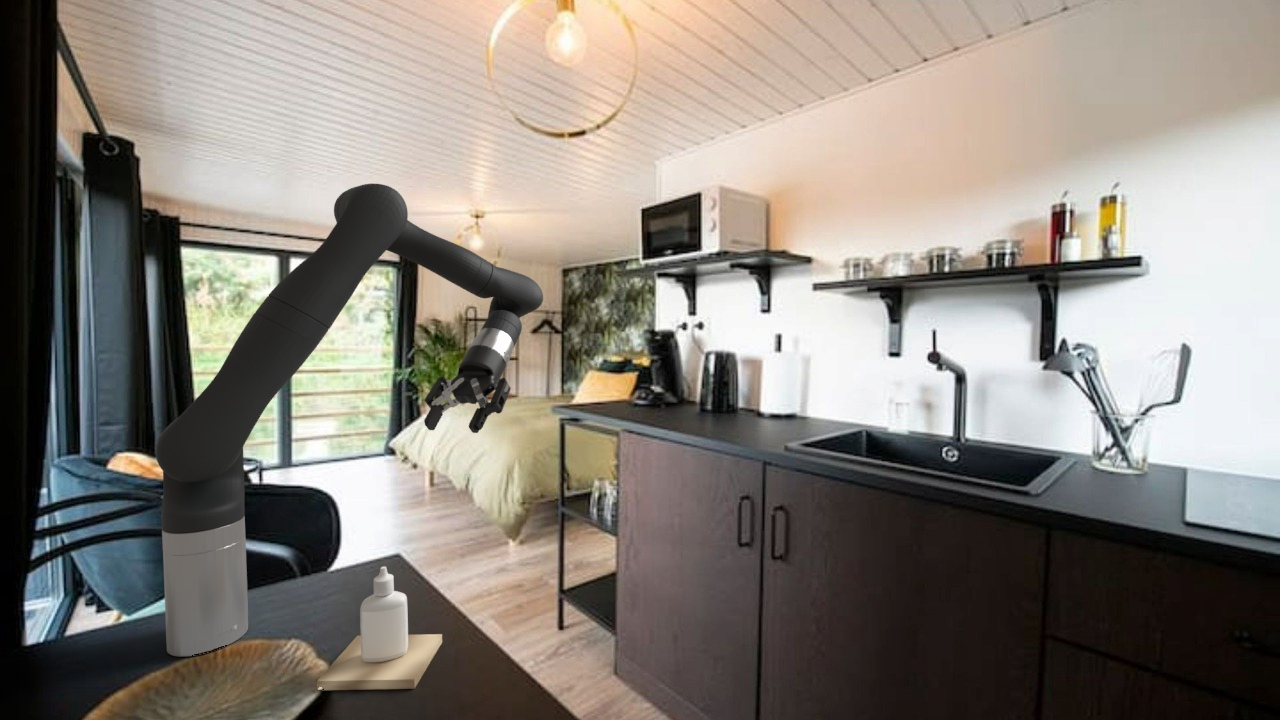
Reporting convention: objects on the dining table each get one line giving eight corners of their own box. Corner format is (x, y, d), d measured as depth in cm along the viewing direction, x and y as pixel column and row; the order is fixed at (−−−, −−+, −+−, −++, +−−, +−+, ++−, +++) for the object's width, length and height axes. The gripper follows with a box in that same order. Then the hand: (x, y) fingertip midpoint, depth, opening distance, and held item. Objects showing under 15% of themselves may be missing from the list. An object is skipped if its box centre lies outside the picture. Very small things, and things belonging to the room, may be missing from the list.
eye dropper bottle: (392, 667, 68) (390, 576, 68) (355, 662, 69) (353, 572, 69) (413, 648, 73) (412, 562, 72) (378, 643, 74) (376, 558, 73)
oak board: (317, 690, 66) (316, 681, 66) (357, 643, 76) (357, 635, 76) (414, 688, 66) (414, 679, 66) (442, 642, 76) (442, 634, 76)
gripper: (445, 343, 98) (403, 413, 87) (514, 343, 94) (478, 417, 83) (463, 370, 103) (425, 439, 93) (528, 371, 99) (496, 444, 89)
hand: (450, 428), depth 88 cm, fingers open, 8 cm apart
